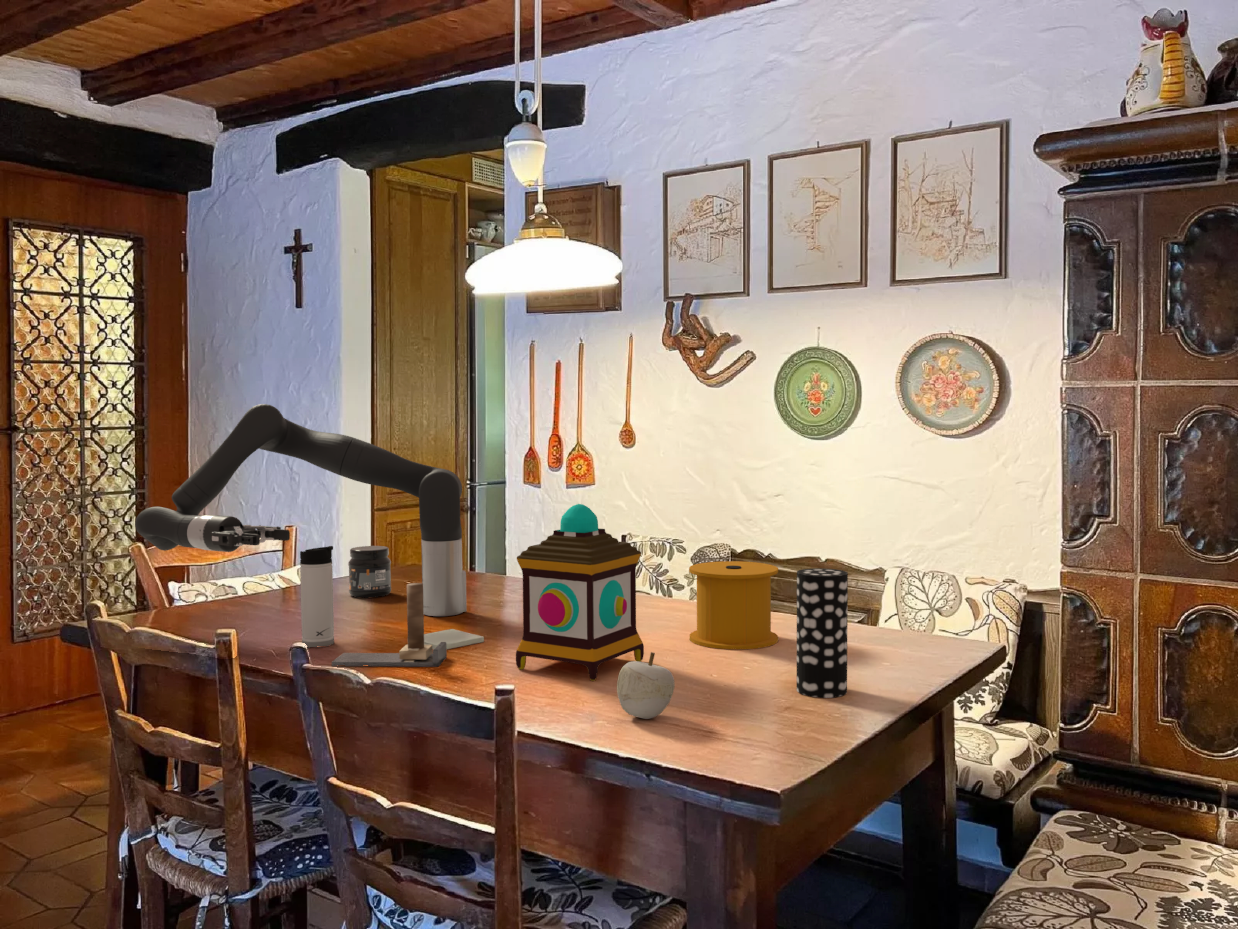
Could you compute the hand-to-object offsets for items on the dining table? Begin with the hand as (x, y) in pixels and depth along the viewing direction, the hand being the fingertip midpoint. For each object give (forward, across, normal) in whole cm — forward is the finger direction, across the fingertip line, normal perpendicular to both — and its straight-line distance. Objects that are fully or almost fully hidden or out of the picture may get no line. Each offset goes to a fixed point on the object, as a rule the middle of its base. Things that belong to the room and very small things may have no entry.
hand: (273, 537), depth 216 cm
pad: (+34, +12, +21) cm, 42 cm away
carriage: (+38, -4, +20) cm, 43 cm away
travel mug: (+12, 0, +21) cm, 24 cm away
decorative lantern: (+68, +6, +20) cm, 71 cm away
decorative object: (+92, -18, +20) cm, 96 cm away
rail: (+34, -6, +21) cm, 40 cm away
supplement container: (-14, +49, +21) cm, 55 cm away
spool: (+87, +38, +20) cm, 97 cm away
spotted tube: (+113, +7, +20) cm, 115 cm away
